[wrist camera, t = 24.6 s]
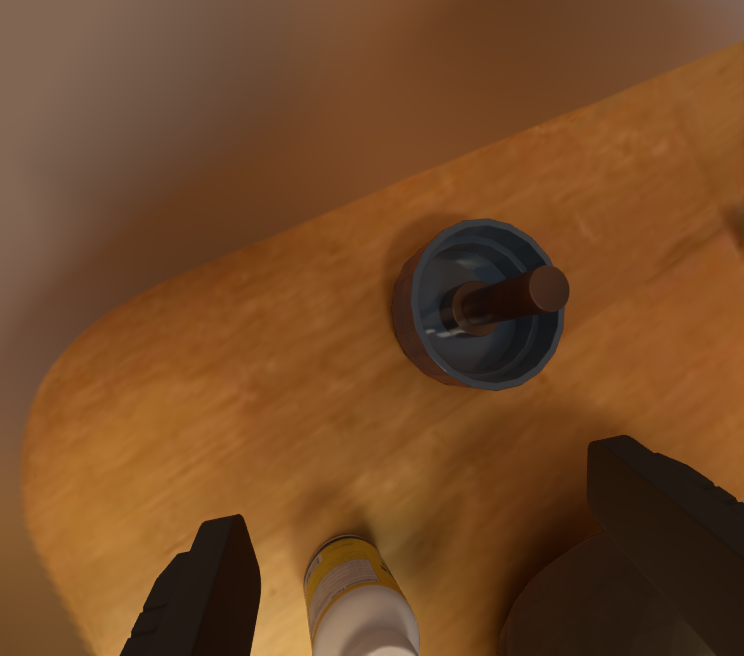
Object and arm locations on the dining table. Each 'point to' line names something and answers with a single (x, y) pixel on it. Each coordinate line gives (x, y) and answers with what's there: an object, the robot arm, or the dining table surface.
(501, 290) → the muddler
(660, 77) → the dining table surface
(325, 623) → the pill bottle
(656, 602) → the pot
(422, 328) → the bowl
